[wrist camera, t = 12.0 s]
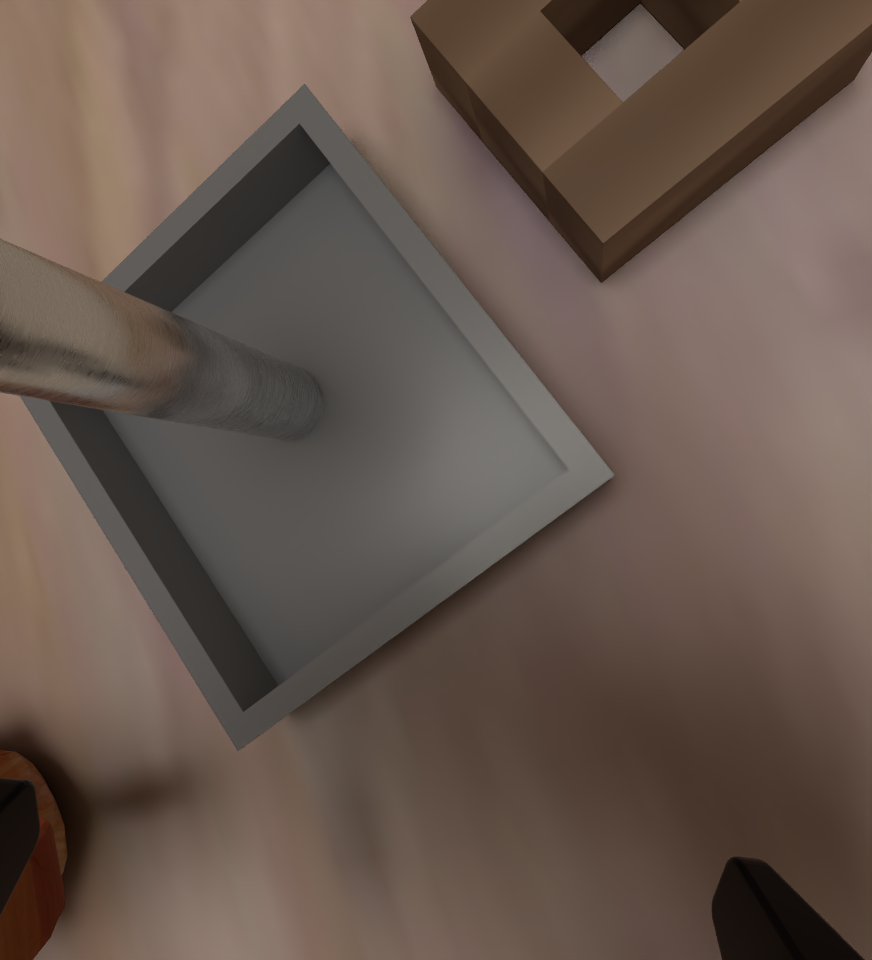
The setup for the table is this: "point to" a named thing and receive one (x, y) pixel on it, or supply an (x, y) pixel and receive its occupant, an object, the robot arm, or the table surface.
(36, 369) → the pin
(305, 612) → the tray
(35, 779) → the mug
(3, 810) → the robot arm
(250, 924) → the table surface
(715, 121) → the hitch block
